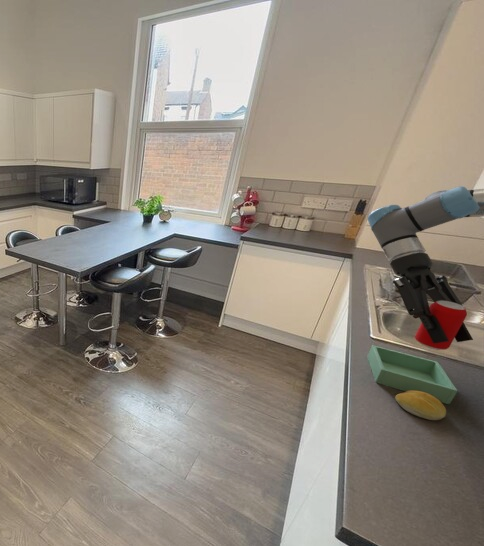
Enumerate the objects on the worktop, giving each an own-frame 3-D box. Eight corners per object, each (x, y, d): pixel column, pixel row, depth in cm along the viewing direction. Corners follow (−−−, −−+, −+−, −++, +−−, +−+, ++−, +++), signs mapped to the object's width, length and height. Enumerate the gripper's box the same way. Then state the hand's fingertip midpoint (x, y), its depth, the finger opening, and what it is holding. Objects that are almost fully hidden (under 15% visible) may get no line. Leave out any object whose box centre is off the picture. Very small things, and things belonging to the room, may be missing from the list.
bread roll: (387, 401, 82) (393, 389, 81) (409, 394, 85) (415, 382, 83) (428, 426, 75) (435, 413, 73) (451, 417, 77) (458, 405, 76)
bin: (431, 374, 93) (437, 361, 91) (449, 404, 81) (457, 390, 80) (366, 356, 100) (372, 344, 98) (375, 382, 89) (381, 369, 87)
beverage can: (454, 351, 78) (477, 309, 74) (434, 353, 78) (457, 311, 73) (425, 337, 84) (445, 298, 80) (406, 339, 83) (425, 299, 79)
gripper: (422, 262, 90) (467, 342, 81) (363, 264, 88) (403, 346, 79) (453, 250, 83) (506, 336, 74) (390, 251, 81) (437, 340, 72)
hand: (453, 341), depth 76 cm, fingers closed on beverage can, 6 cm apart
